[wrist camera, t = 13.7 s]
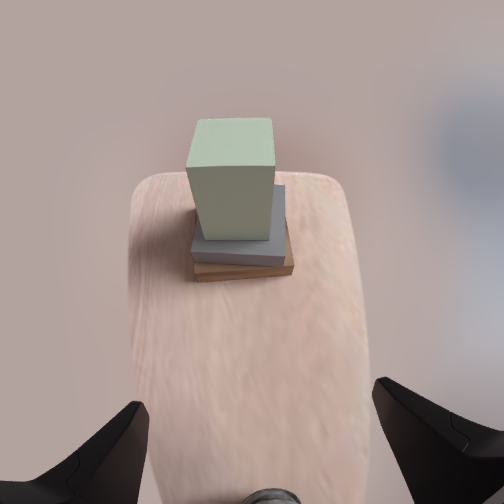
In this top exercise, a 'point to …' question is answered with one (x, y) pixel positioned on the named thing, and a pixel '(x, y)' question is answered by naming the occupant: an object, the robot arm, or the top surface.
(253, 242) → the charcoal top slab
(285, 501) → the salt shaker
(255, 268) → the walnut base slab
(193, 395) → the top surface
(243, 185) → the sage green block
